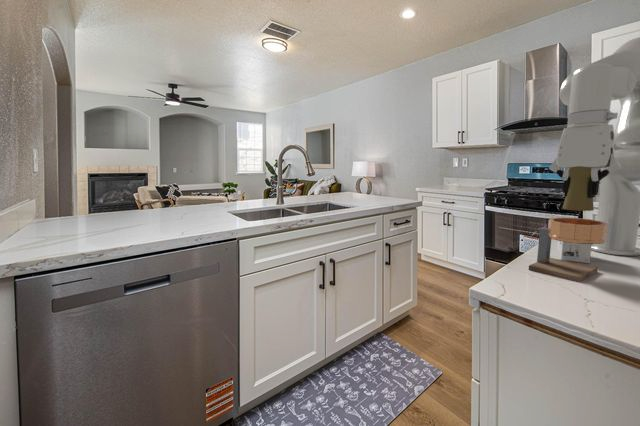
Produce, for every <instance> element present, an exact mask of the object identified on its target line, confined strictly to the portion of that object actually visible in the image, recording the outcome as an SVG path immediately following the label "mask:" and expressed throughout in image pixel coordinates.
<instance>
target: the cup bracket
mask: <svg viewBox="0 0 640 426" xmlns="http://www.w3.org/2000/svg"><path fill="white" fill-rule="evenodd" d="M547 224H548V225H547V227H542V228H539V234H538V235H539V237H538V246H537V247H538V248H537V258H536V262H534V263H531V264H529V265H528V270H529V271H532V272H536V273H540V274H545V275H548V276H553V277H558V278H561V279H565V280H570V281H573V282H578V283H580V282H582V281H584V280H586V279H588V278H589V277H591V276H592V275H594V274H596V273H597V272H598V269H599V267H597V266H593V265H588V264H584V263H580V262H574V261H565V260H561V259H560V258H559V259H558V258H553V257H551V249H552V248H551V247H552V240H555V241H557V242H558V241H563V242H569V243H577V244H602V243H604V242H605V238H606V236H607V228H608V224H607V223H605V222H602V221H597V219H589V218H588V219H587V218H578V217H553V218H548V223H547Z"/></svg>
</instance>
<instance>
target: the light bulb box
mask: <svg viewBox="0 0 640 426" xmlns="http://www.w3.org/2000/svg"><path fill="white" fill-rule="evenodd" d="M591 245H592V244H577V243H569V242H563V241H558V240H557V250H556V251H557V254H558V257H559V260H564V261H569V262H574V263H582V264H584V263H585V264H590V262H591V254H592V250H591Z"/></svg>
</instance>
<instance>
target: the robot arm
mask: <svg viewBox="0 0 640 426" xmlns="http://www.w3.org/2000/svg"><path fill="white" fill-rule="evenodd" d="M559 99H560V101H561V103H562V104H563V105H565V106H566V107H567V106H568V113H567V115H568V117H567V126H566V127H565V128H563V131H562V134H561V137H560V140H559V143H558V149H557V155H556V158H555V159H554V161H553V162H551V165H550V166H549V167H548V169H549V170H550V171H552V172H553V173H555V174H557V175H558V176H559V177H560V178H561V180H562V181H563V188H562V193H563V194H564V197H566V196H567V193H568V189H569V185H570V177H569V169H570V168H572V167H577V166H582V167H587V168H591V181H589V182H588V191H587V195H588V198H593V199H594V198H596V196H597V195H599V200H598V207H597V216H596V217H597V218H596V220H597V221H602V222H605V223H607V224H608V228H607V236H606V238H605V242H604V243H602V244H592V245H591V251H595V252H597V253H604V254H608V255H614V256H627V257H628V256H630V257H634V256H636V257H637V256H640V248H638V247H637V246H636V245H637V241H638V239H637V238H638V232H639V225H640V190H639V188H638V187H636V185H635V184H634V182H640V36H639V37H636V38H632V39H630V40H628V41H626V42H625V43H623V44H622V45H621V46H619V47H618V48H617V49H616V50H615V51H614V52H613V53H611V54H609V55H607V56H605V57H603V58H600V59H598V60H596V61H594V62H591V63H589V64H587V65H584V66H582V67H580V68H578V69H576V70H574V71H573V72H572V73H570V74H569V75H568V76H567V77H566V78H565V79H564V80H563V81H562V84H561V86H560V89H559ZM617 100H619V103H620V111H619V115H618V112H612V111H611V103H612V101H617ZM616 119H617V122H616V125H615V129H614V125H613V124H609V123H610V121H612V120H616ZM615 146H616V147H617V148H621V149H615ZM599 189H600V190H599Z"/></svg>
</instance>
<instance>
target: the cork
mask: <svg viewBox="0 0 640 426" xmlns="http://www.w3.org/2000/svg"><path fill="white" fill-rule="evenodd" d="M569 177H570V185H569V189H568V193H567V196H566V197H565V196H564V197H565V198H564V202H563V204H562V209H563V210H568V211H576V212H577V211H579V212H588V211H589V212H590V211H591V212H592V211H594V208H595V207H594V198H588V195H587V191H588V182H589V181H591V168H587V167H582V166H577V167H572V168H570V169H569Z"/></svg>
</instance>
